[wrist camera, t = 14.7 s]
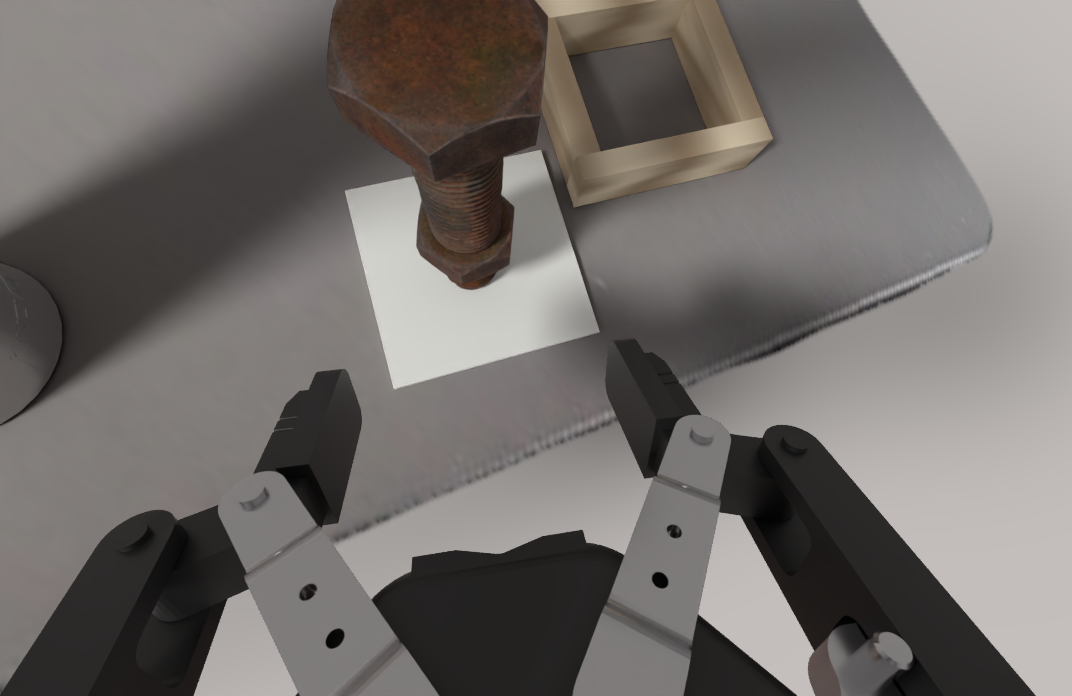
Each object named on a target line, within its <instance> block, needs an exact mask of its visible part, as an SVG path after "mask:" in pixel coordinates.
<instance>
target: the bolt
mask: <svg viewBox="0 0 1072 696" xmlns="http://www.w3.org/2000/svg"><path fill="white" fill-rule="evenodd" d="M547 36H548V16H547V14H546V13H545V12H544V11H543V9H542V8H541V7H540V6H539V4H538V3H537V2H536V1H535V0H337V1H336V3H335V6H334V9H333V14H332V20H331V27H330V34H329V44H328V55H327V66H328V89H329V91H330V93H331V95H332V97H333V99H334V101H335V103H336V105H337V107H338V109H339V111H340V114H341V116H342V118H343V120H345V121H346V122H348V123H349V124H351V125H352V126H354V127H355V128H356V129H358V130H359V131H361V132H362V133H364V134H365V135H367V136H368V137H369V138H371V139H372V140H374V141H375V142H377V143H378V144H380V145H381V146H383V147H384V148H385V149H387V150H388V151H390V152H391V153H393V154H394V155H396V156H397V157H399V158H400V159H402V160H403V161H405V162H406V163H408V164H409V165H410V166H411V168H412V171H413V175H414V178H415V181H416V183H417V186H418V189H419V193H420V196H421V200H422V201H421V204H420V209H419V215H418V224H417V238H416V247H417V249H418V252H419V254H420V256H422V257H423V258H424V259H425V260H426V261H428V262H429V263H430V264H431V265H433V266H434V267H435V268H437V269H438V270H440V271H441V272H442V273H444V274H445V275H447V277H448V278H449V280H450V281H451V282H453V283H455V284H456V285H457V286H458V287H460V288H462V289H467V290H476V289H480V288H482V287H484V286H485V285H486V284H488V283H489V282H490V281H491V280H492V279H493V278H494V276H495V274H496V272H498V271H499V270H501V269H503V268H505V267H506V266H508V265H509V263H510V254H511V244H512V233H513V221H514V209H515V207H514V206H513V205H512V204H511V203H510V202H509V201H508V200H507V199H506V198H505V197H504V196H502V195H501V192H502V185H503V182H502V181H503V165H504V161H503V159H504V156H507V155H510V154H512V153H515V152H518V151H520V150H523V149H526V148H528V147H531V146H534V145H536V141H537V134H538V127H539V120H540V112H541V104H542V95H543V85H544V73H545V61H546V49H547Z"/></svg>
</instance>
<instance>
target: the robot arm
mask: <svg viewBox="0 0 1072 696" xmlns="http://www.w3.org/2000/svg"><path fill="white" fill-rule="evenodd" d="M61 345H62V323H61V319H60V315H59V312H58V308H57V306H56V304H55V302H54V301H53V299H52V297H51V296H50V294H49V292H48V291H47V290H46V289H45V288H44V287H43V286H42V285H41V284H40V283H39V282H38V281H37V280H36V279H34V278H33V277H31V276H29V275H28V274H26V273H24V272H23V271H21V270H19V269H16V268H13V267H10V266H7V265H4V264H1V263H0V424H2V423H3V422H5V421H6V420H8V419H9V418H11V417H12V416H14V415H15V414H17V413H18V412H20V411H21V410H22V409H23V408H24V407H25V406H27V405H28V404H29V403H30V402H31V401H32V400H33V399H34V398H35V397H36V396H37V395H38V393H39V392H40V391H41V389H42V388H43V387H44V385H45V384H46V383H47V381H48V380H49V378H50V376H51V374H52V372H53V370H54V368H55V366H56V364H57V361H58V358H59V353H60V349H61ZM605 382H606V391H607V395H608V398H609V400H610V403H611V405H612V407H613V409H614V411H615V414H616V416H617V418H618V420H619V423H620V425H621V427H622V429H623V431H624V434H625V436H626V438H627V440H628V443H629V445H630V447H631V449H632V452H633V454H634V456H635V458H636V460H637V463H638V465H639V467H640V470H641V472H642V474H643V476H644V478H651V477H654V478H653V481H652V483H651V486H650V489H649V491H648V494H647V497H646V499H645V502H644V505H643V508H642V510H641V513H640V516H639V518H638V521H637V523H636V526H635V529H634V532H633V534H632V537H631V540H630V542H629V545H628V548H627V550H626V553H625V555H623V554H621V553H619V552H617V551H615V550H613V549H610V548H608V547H605V546H602V545H597V544H593V543H586V540H585V537H584V533H583V530H579V531H572V532H566V533H560V534H554V535H547V536H542V537H540V538H538V539H535V540H533V541H531V542H528V543H526V544H523V545H521V546H519V547H517V548H514V549H512V550H510V551H507V552H505V553H502V554H491V553H480V552H469V551H458V550H454V551H448V552H442V553H436V554H429V555H423V556H417V557H413V558H412V571H411V572H409V573H407V574H405V575H403V576H401V577H400V578H398V579H396V580H394V581H393V582H392V583H390V584H389V585H387V586H386V587H384V588H383V589H382V590H381V591H380V592H379V593H378V594H377V595H375V596H374V597H373V599H370V597H369V596H368V595H367V593H366V592H365V590H364V589H363V587H362V586H361V584H360V583H359V582H358V580H357V579H356V577H355V576H354V574H353V573H352V571H351V570H350V568H349V567H348V566H347V564H346V563H345V561H344V560H343V558H342V557H341V556H340V554H339V553H338V551H337V550H336V548H335V547H334V545H333V544H332V542H331V541H330V540H329V538H328V537H327V535H326V534H325V532H324V531H323V530H322V525H328V524H335V523H338V521H339V517H340V513H341V509H342V505H343V501H344V497H345V492H346V488H347V484H348V480H349V476H350V472H351V468H352V463H353V459H354V455H355V451H356V447H357V443H358V439H359V434H360V430H361V425H362V416H361V409H360V406H359V403H358V400H357V397H356V394H355V391H354V389H353V386H352V383H351V380H350V377H349V374H348V372H347V371H346V370H345V369H339V370H330V371H321V372H317V373H316V374H315V376H314V378H313V381H312V383H311V385H310V388H309V390H304V391H299V392H298V393H297V394H296V395H295V396H294V397H293V398H292V399H291V400H290V401H289V402H288V403H287V404H286V405H285V407H284V409H283V412H282V414H281V416H280V421H278V422H277V424H276V427H275V429H274V432H273V433H272V435H271V437H270V439H269V441H268V444H267V446H266V448H265V450H264V452H263V454H262V456H261V459H260V461H259V463H258V465H257V467H256V469H255V471H254V473H253V474H252V475H250V476H248V477H245V478H243V479H242V480H240V481H239V482H237V483H236V484H234V485H233V486H232V487H231V488H230V489H229V490H228V491H227V492H226V493H225V494H224V496H223V497H222V499H221V501H220V503H219V505H217V506H214V507H212V508H209V509H207V510H204V511H201V512H199V513H196V514H193V515H191V516H188V517H185V518H183V519H180V520H177V519H176V518H175V517H174V516H173V515H172V514H171V513H170V512H168V511H164V510H152V511H148V512H144V513H141V514H138V515H136V516H134V517H132V518H130V519H128V520H126V521H124V522H123V523H121V524H120V525H118V526H117V527H115V528H114V529H113V530H111V531H110V532H109V533H108V534H107V535H106V536H105V537H104V538H103V539H102V540H101V541H100V543H99V544H98V545H97V547H96V548H95V550H94V551H93V553H92V555H91V556H90V558H89V559H88V561H87V562H86V564H85V565H84V567H83V568H82V570H81V571H80V573H79V575H78V576H77V578H76V579H75V581H74V582H73V584H72V585H71V587H70V588H69V590H68V591H67V593H66V595H65V596H64V598H63V599H62V601H61V602H60V604H59V605H58V607H57V608H56V610H55V611H54V613H53V614H52V616H51V618H50V619H49V621H48V622H47V624H46V625H45V627H44V628H43V630H42V631H41V633H40V634H39V636H38V638H37V639H36V641H35V642H34V644H33V645H32V647H31V648H30V650H29V651H28V653H27V654H26V656H25V658H24V659H23V661H22V662H21V664H20V665H19V667H18V668H17V670H16V671H15V673H14V674H13V676H12V678H11V679H10V681H9V682H8V684H7V685H6V687H5V688H4V690H3V691H2V693H1V694H0V696H194V693H195V690H196V687H197V683H198V681H199V678H200V675H201V673H202V670H203V667H204V664H205V661H206V658H207V655H208V653H209V650H210V647H211V644H212V641H213V638H214V636H215V633H216V630H217V627H218V624H219V621H220V618H221V616H222V613H223V610H224V607H225V604H226V601H227V599H228V598H230V597H232V596H234V595H237V594H239V593H241V592H243V591H245V590H247V589H249V590H250V591H251V594H252V596H253V598H254V600H255V602H256V604H257V606H258V609H259V611H260V613H261V615H262V617H263V619H264V621H265V623H266V625H267V627H268V629H269V632H270V634H271V636H272V638H273V640H274V642H275V644H276V646H277V648H278V651H279V653H280V655H281V657H282V659H283V661H284V663H285V665H286V667H287V670H288V672H289V674H290V676H291V678H292V680H293V682H294V684H295V686H296V688H297V690H298V693H297V695H296V696H797V695H796V694H795V693H793V692H792V691H791V690H790V689H788V688H787V687H786V686H785V685H784V684H782V683H781V682H780V681H779V680H777V679H776V678H775V677H774V676H773V675H771V674H770V673H769V672H768V671H767V670H765V669H764V668H763V667H761V666H760V665H759V664H758V663H757V662H755V661H754V660H753V659H752V658H751V657H749V656H748V655H747V654H746V653H745V652H743V651H742V650H741V649H740V648H739V647H737V646H736V645H735V644H734V643H732V642H731V641H730V640H729V639H728V638H726V637H725V636H724V635H722V633H720V632H719V631H718V630H716V629H715V628H714V627H713V626H712V625H711V624H709V623H708V622H707V621H706V620H704V619H703V618H702V617H701V616H699V615H698V611H699V606H700V601H701V597H702V592H703V587H704V582H705V577H706V572H707V566H708V563H709V557H710V553H711V548H712V543H713V538H714V534H715V529H716V524H717V519H718V514H719V512H721V513H728V514H734V515H740V516H741V517H742V519H743V521H744V523H745V525H746V527H747V529H748V530H749V532H750V533H751V535H752V537H753V539H754V541H755V543H756V545H757V547H758V549H759V550H760V552H761V554H762V556H763V558H764V560H765V561H766V563H767V565H768V567H769V568H770V571H771V572H772V574H773V576H774V578H775V580H776V581H777V583H778V585H779V587H780V589H781V590H782V593H783V594H784V596H785V598H786V600H787V602H788V603H789V605H790V607H791V609H792V611H793V613H794V614H795V616H796V618H797V620H798V622H799V624H800V625H801V627H802V629H803V631H804V633H805V635H806V636H807V638H808V640H809V642H810V644H811V646H812V647H813V649H814V652H813V654H812V655H811V657H810V659H809V663H808V675H809V679H810V683H811V686H812V688H813V691H814V693H815V696H1035V694H1034V693H1033V692H1032V691H1031V690H1030V688H1029V687H1028V686H1027V685H1026V684H1025V682H1024V681H1023V680H1022V679H1021V678H1020V677H1019V676H1018V674H1017V673H1016V672H1015V671H1014V670H1013V668H1012V667H1011V666H1010V665H1009V664H1008V663H1007V661H1006V660H1005V659H1004V658H1003V657H1002V655H1001V654H1000V653H999V652H998V651H997V650H996V649H995V647H994V646H993V645H992V644H991V643H990V642H989V640H988V639H987V638H986V637H985V635H984V634H983V633H982V632H981V631H980V630H979V628H978V627H977V626H976V625H975V624H974V623H973V621H972V620H971V619H970V618H969V617H968V615H967V614H966V613H965V612H964V611H963V610H962V608H961V607H960V606H959V605H958V604H957V603H956V602H955V600H954V599H953V598H952V597H951V596H950V594H949V593H948V592H947V591H946V590H945V589H944V587H943V586H942V585H941V584H940V583H939V582H938V580H937V579H936V578H935V577H934V576H933V574H932V573H931V572H930V571H929V570H928V569H927V567H926V566H925V565H924V564H923V563H922V561H921V560H920V559H919V558H918V557H917V556H916V554H915V553H914V552H913V551H912V550H911V549H910V547H909V546H908V545H907V544H906V543H905V541H904V540H903V539H902V538H901V537H900V536H899V534H898V533H897V532H896V531H895V530H894V528H893V527H892V526H891V525H890V524H889V523H888V521H887V520H886V519H885V518H884V517H883V516H882V514H881V513H880V512H879V511H878V510H877V509H876V507H875V506H874V505H873V504H872V503H871V501H870V500H869V499H868V498H867V497H866V496H865V494H864V493H863V492H862V491H861V490H860V489H859V487H858V486H857V485H856V484H855V483H854V481H853V480H852V479H851V478H850V477H849V476H848V475H847V473H846V472H845V471H844V470H843V469H842V467H841V466H840V465H839V464H838V463H837V462H836V460H835V459H834V458H833V457H832V456H831V454H830V453H829V452H828V451H827V450H826V449H825V447H824V446H823V445H822V444H821V443H820V442H819V441H818V440H817V439H816V438H815V437H814V436H813V435H811V434H810V433H808V432H806V431H804V430H802V429H799V428H797V427H793V426H788V425H776V426H772V427H770V428H769V429H767V430H766V432H765V434H764V436H763V438H757V437H748V436H740V435H734V434H729V432H728V431H727V429H726V428H725V427H724V426H723V425H722V424H721V423H719V422H717V421H716V420H714V419H712V418H709V417H706V416H702V415H701V414H700V412H699V411H698V409H697V408H696V406H695V405H694V403H693V402H692V400H691V399H690V397H689V396H688V394H687V393H686V391H685V390H684V389H683V387H682V386H681V384H679V381H678V380H677V378H676V377H675V375H673V374H672V371H671V369H670V368H669V366H668V365H667V364H666V362H665V361H664V360H662V359H661V358H660V357H658V356H657V355H655V354H654V353H652V352H650V353H644V352H643V350H642V349H641V347H640V346H639V344H638V342H637V341H636V340H635V339H625V340H616V341H611V342H610V343H609V348H608V358H607V369H606V379H605Z"/></svg>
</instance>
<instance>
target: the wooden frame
mask: <svg viewBox="0 0 1072 696" xmlns="http://www.w3.org/2000/svg"><path fill="white" fill-rule="evenodd" d="M535 1H536V2H537V3H538V4H539V6H540V7H541V8H542V9H543V11H544V12H545V13H546V14H547V16H548V36H547V49H546V61H545V73H544V85H543V95H542V104H541V109H542V112H543V116H544V119H545V122H546V125H547V128H548V131H549V134H550V137H551V140H552V143H553V146H554V149H555V152H556V155H557V158H558V161H559V164H560V167H561V170H562V173H563V176H564V179H565V182H566V185H567V188H568V192H569V195H570V198H571V201H572V204H573V207H579V206H583V205H587V204H592V203H596V202H600V201H605V200H609V199H613V198H618V197H622V196H626V195H631V194H635V193H639V192H644V191H648V190H652V189H657V188H661V187H665V186H670V185H674V184H678V183H683V182H687V181H691V180H696V179H700V178H704V177H709V176H713V175H717V174H722V173H726V172H730V171H735V170H739V169H743V168H745V167H746V166H747V165H748V164H749V163H750V162H751V161H752V160H753V159H754V158H755V157H756V156H757V155H758V153H759V152H760V151H761V150H762V149H763V148H764V147H765V146H766V145H767V144H768V143H769V142H770V141H771V140H772V139H773V137H772V135H771V133H770V130H769V128H768V125H767V123H766V120H765V118H764V116H763V113H762V111H761V108H760V106H759V103H758V101H757V98H756V96H755V94H754V91H753V89H752V86H751V84H750V81H749V79H748V77H747V74H746V72H745V69H744V67H743V64H742V62H741V60H740V57H739V55H738V52H737V50H736V47H735V45H734V42H733V40H732V38H731V35H730V33H729V30H728V28H727V25H726V23H725V21H724V18H723V16H722V13H721V11H720V8H719V6H718V4H717V1H716V0H535ZM667 38H672V41H673V44H674V46H675V49H676V51H677V54H678V56H679V59H680V62H681V64H682V67H683V69H684V72H685V75H686V77H687V80H688V82H689V85H690V87H691V90H692V93H693V95H694V98H695V100H696V103H697V105H698V108H699V111H700V113H701V116H702V118H703V121H704V124H705V126H706V129H704V130H699V131H695V132H690V133H685V134H680V135H676V136H671V137H666V138H662V139H657V140H652V141H647V142H643V143H638V144H633V145H629V146H624V147H619V148H614V149H610V150H605V151H601V150H600V147H599V144H598V141H597V139H596V136H595V133H594V130H593V127H592V124H591V121H590V118H589V115H588V112H587V110H586V107H585V104H584V101H583V98H582V95H581V92H580V89H579V86H578V84H577V81H576V78H575V75H574V72H573V69H572V66H571V63H570V60H569V58H568V56H570V55H576V54H582V53H588V52H593V51H599V50H605V49H610V48H616V47H622V46H628V45H633V44H639V43H645V42H650V41H656V40H662V39H667Z"/></svg>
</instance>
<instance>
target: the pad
mask: <svg viewBox="0 0 1072 696" xmlns="http://www.w3.org/2000/svg"><path fill="white" fill-rule="evenodd" d="M503 161H504V165H503V181H502V182H503V185H502V192H501V195H502V196H504V197H505V198H506V199H507V200H508V201H509V202H510V203H511V204H512V205H513V206H514V207H515V209H514V221H513V233H512V244H511V254H510V263H509V265H508V266H506V267H505V268H503V269H501V270H499V271H498V272H496V274H495V276H494V278H493V279H492V280H491V281H490V282H489V283H488V284H486V285H485V286H484V287H482V288H480V289H476V290H467V289H462V288H460V287H458V286H457V285H456V284H455V283H453V282H451V281H450V280H449V278H448V277H447V275H445V274H444V273H442V272H441V271H440V270H438V269H437V268H435V267H434V266H433V265H431V264H430V263H429V262H428V261H426V260H425V259H424V258H423V257H422V256H420V254H419V252H418V249H417V247H416V238H417V224H418V215H419V209H420V204H421V201H422V200H421V196H420V193H419V189H418V186H417V183H416V181H415V178H414V176H413V177H408V178H403V179H398V180H393V181H389V182H384V183H379V184H374V185H369V186H364V187H360V188H355V189H350V190H345V194H346V198H347V202H348V206H349V210H350V214H351V218H352V222H353V226H354V230H355V234H356V238H357V242H358V246H359V251H360V255H361V259H362V263H363V267H364V271H365V275H366V279H367V283H368V287H369V291H370V295H371V299H372V303H373V307H374V311H375V315H376V319H377V323H378V327H379V331H380V335H381V339H382V343H383V347H384V351H385V355H386V359H387V363H388V367H389V371H390V375H391V379H392V384H393V388H394V389H395V390H396V389H399V388H403V387H406V386H410V385H413V384H417V383H421V382H424V381H428V380H431V379H435V378H439V377H442V376H446V375H449V374H453V373H457V372H460V371H464V370H467V369H471V368H474V367H478V366H482V365H485V364H489V363H492V362H496V361H500V360H503V359H507V358H510V357H514V356H517V355H521V354H525V353H528V352H532V351H535V350H539V349H543V348H546V347H550V346H553V345H557V344H560V343H564V342H568V341H571V340H575V339H578V338H582V337H586V336H589V335H593V334H596V333H599V332H600V331H599V328H598V325H597V322H596V319H595V316H594V313H593V309H592V306H591V303H590V300H589V297H588V294H587V291H586V288H585V285H584V282H583V279H582V275H581V272H580V269H579V266H578V263H577V260H576V257H575V254H574V251H573V248H572V245H571V242H570V238H569V235H568V232H567V229H566V226H565V223H564V220H563V217H562V214H561V211H560V208H559V204H558V201H557V198H556V195H555V192H554V189H553V186H552V183H551V180H550V177H549V174H548V171H547V167H546V164H545V161H544V158H543V155H542V152H541V150H538V151H533V152H528V153H524V154H519V155H514V156H509V157H504V159H503Z"/></svg>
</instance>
